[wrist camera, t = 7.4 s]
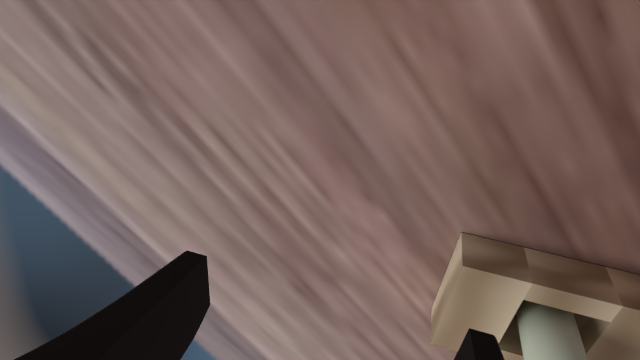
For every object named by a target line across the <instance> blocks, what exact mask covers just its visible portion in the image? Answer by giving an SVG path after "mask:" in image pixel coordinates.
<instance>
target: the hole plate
mask: <svg viewBox="0 0 640 360" xmlns="http://www.w3.org/2000/svg"><path fill="white" fill-rule="evenodd" d="M523 300H526V301H530V302H534V303H538V304H542V305H546V306H549V307H553V308H557V309H561V310H565V311H569V312H573V313H574V317H575V320H576V324H577V327H578V330H579V333H580V336H581V340H582V343H583V346H584V349H585V352H586V356H587V359H588V360H640V275H637V274H633V273H629V272H625V271H621V270H616V269H612V268H608V267H604V266H600V265H596V264H591V263H587V262H583V261H579V260H575V259H571V258H566V257H562V256H558V255H554V254H550V253H545V252H541V251H537V250H533V249H529V248H525V247H520V246H516V245H512V244H508V243H504V242H500V241H495V240H491V239H487V238H483V237H479V236H475V235H470V234H466V233H462V232H461V234H460V237H459V239H458V242H457V245H456V247H455V250H454V252H453V255H452V258H451V260H450V263H449V265H448V268H447V271H446V273H445V276H444V278H443V281H442V284H441V286H440V289H439V291H438V294H437V296H436V299H435V302H434V304H433V307H432V316H431V339H430V344H431V345H435V346H438V347H442V348H445V349H449V350H452V351H456V352H458V350H459V348H460V346H461V344H462V342H463V340H464V338H465V336H466V334H467V332H468V330H469V328H470V329H474V330H478V331H481V332H485V333H488V334H492V335H494V336H495V337H496V339H497V341H498V344H499V346H500V349H501V351H502V354H503V357H504V359H505V360H524V358H523V352H522V346H521V340H520V334H519V328H518V322H517V318H516V317H514V315H515V314H516V312H517V310H518V308H519V306H520V305H521V303H522V301H523Z"/></svg>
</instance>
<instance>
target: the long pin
mask: <svg viewBox="0 0 640 360" xmlns="http://www.w3.org/2000/svg"><path fill="white" fill-rule="evenodd" d="M516 316H517V322H518V328H519V334H520V340H521V346H522V352H523V358H524V360H588V359H587V356H586V352H585V349H584V346H583V343H582V340H581V336H580V333H579V330H578V327H577V324H576V320H575V317H574V314H573V312H569V311H565V310H561V309H557V308H553V307H549V306H546V305H542V304H538V303H534V302H530V301H526V300H523V301H522V303H521V305H520V306H519V308H518V310H517V312H516Z"/></svg>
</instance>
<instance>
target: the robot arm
mask: <svg viewBox="0 0 640 360" xmlns="http://www.w3.org/2000/svg"><path fill="white" fill-rule="evenodd" d="M209 306H210V296H209V282H208V268H207V256H204V255H201V254H197V253H193V252H190V251H186V252H184V253H182V254H181V255H180V256H178V257H177V258H175V259H174V260H173V261H171V262H170V263H168V264H167V265H166V266H164V267H163V268H162V269H160V270H159V271H157V272H156V273H155V274H153V275H152V276H150V277H149V278H148V279H146V280H145V281H143V282H142V283H141V284H139V285H138V286H136V287H135V288H133V289H132V290H130V291H129V292H128V293H126V294H125V295H124V296H122V297H120V298H119V299H118V300H116V301H115V302H113V303H111V304H110V305H108V306H107V307H105V308H104V309H102V310H101V311H99V312H97V313H96V314H94V315H92V316H91V317H89V318H88V319H86V320H85V321H83V322H81V323H80V324H78V325H76V326H75V327H73V328H71V329H70V330H68V331H66V332H65V333H63V334H61V335H59V336H58V337H56V338H54V339H52V340H51V341H49V342H47V343H45V344H43V345H41V346H39V347H38V348H36V349H34V350H32V351H30V352H28V353H26V354H24V355H22V356H20V357H18V358H16V359H14V360H180V359H181V358H182V356H183V354H184V353H185V351H186V349H187V348H188V346H189V345H190V343H191V342H192V340H193V339H194V337H195V335H196V333H197V331H198V329H199V327H200V325H201V323H202V321H203V318H204V316H205V314H206V312H207V310H208V308H209ZM454 360H505V359H504V357H503V354H502V351H501V349H500V346H499V344H498V341H497V339H496V337H495V336H494V335H492V334H488V333H485V332H481V331H478V330H474V329H470V328H469V330H468V332H467V334H466V336H465V338H464V340H463V342H462V344H461V346H460V348H459V350H458V352H457V354H456V356H455V359H454Z"/></svg>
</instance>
